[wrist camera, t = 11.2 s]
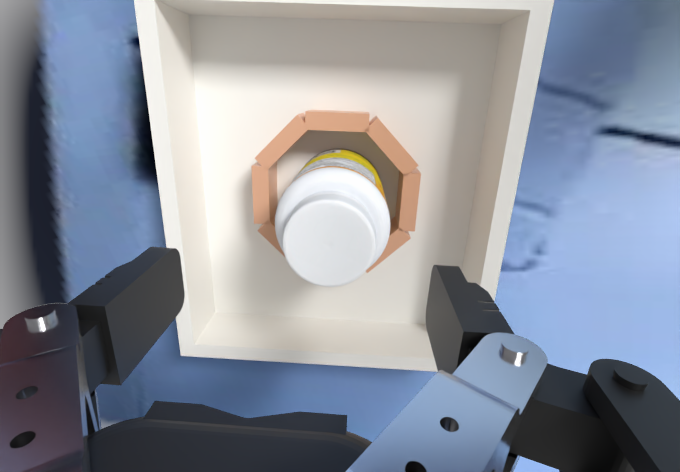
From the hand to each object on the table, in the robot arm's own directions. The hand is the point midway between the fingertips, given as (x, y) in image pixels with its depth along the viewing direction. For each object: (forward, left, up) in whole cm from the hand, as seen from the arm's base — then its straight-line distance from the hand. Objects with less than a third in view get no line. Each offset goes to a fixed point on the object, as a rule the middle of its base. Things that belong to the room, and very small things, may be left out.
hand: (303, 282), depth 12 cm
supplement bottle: (0, 0, -14) cm, 14 cm away
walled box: (0, 0, -15) cm, 15 cm away
